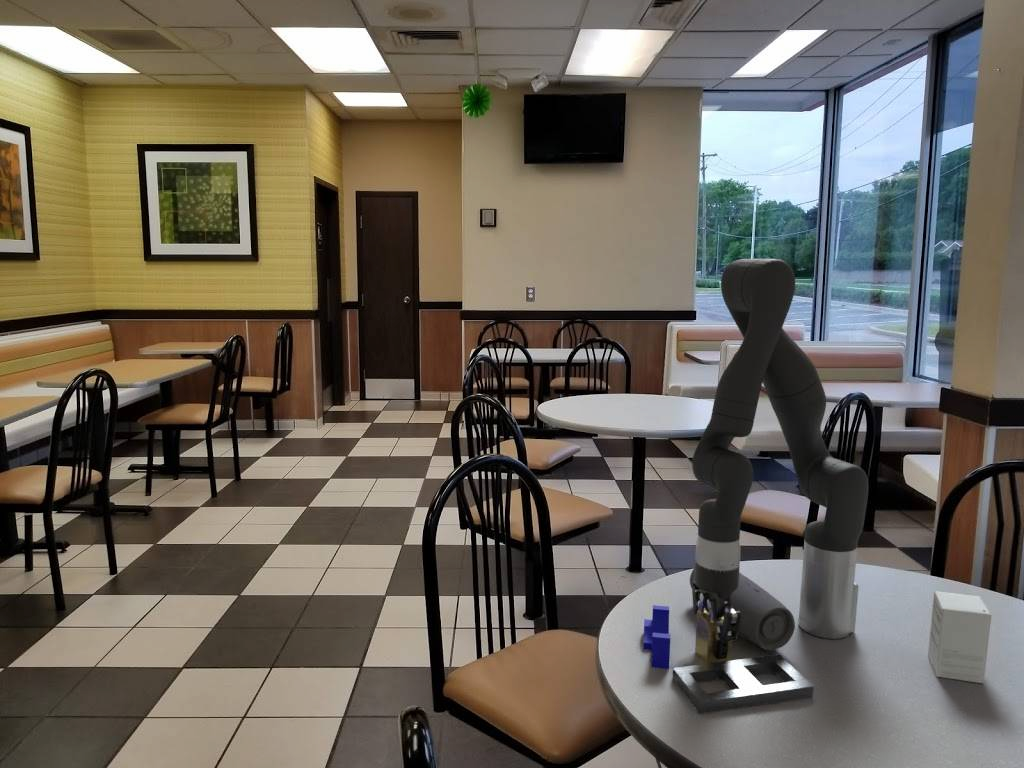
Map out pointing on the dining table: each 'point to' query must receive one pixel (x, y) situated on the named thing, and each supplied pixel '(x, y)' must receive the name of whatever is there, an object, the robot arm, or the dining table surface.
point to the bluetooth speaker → (760, 615)
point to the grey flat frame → (741, 683)
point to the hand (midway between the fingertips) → (712, 649)
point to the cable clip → (658, 637)
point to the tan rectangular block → (707, 638)
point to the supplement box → (959, 636)
